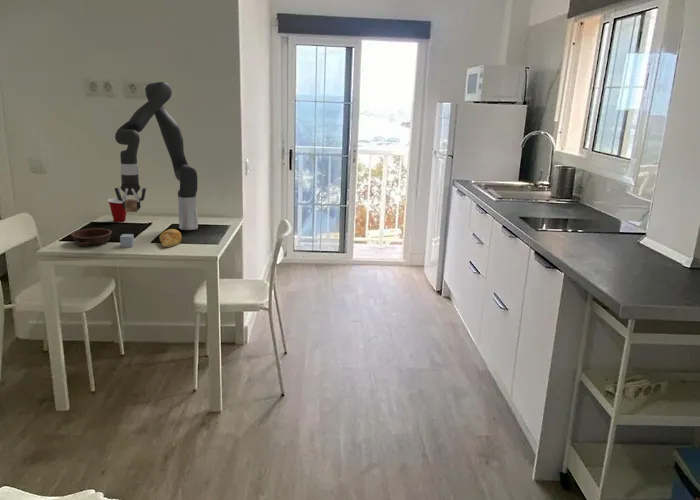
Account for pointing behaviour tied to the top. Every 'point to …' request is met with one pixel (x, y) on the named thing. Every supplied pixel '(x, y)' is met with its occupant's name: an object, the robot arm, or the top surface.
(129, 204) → the walnut block
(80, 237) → the dish
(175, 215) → the top surface
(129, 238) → the grey block
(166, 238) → the croissant
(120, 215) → the plastic cup
